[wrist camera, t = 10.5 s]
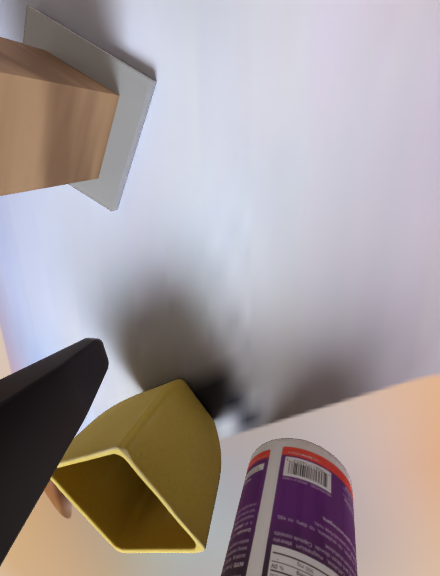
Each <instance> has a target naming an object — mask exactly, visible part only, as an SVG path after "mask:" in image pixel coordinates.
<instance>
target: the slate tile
mask: <svg viewBox="0 0 440 576" xmlns="http://www.w3.org/2000/svg"><path fill="white" fill-rule="evenodd" d="M23 44H26V45H29V46H32V47H36V48H39V49H42V50H46V51H47V52H49V53H51V54H52V55H54V56H55V57H57V58H59V59H60V60H62V61H64V62H65V63H67V64H69V65H70V66H72V67H74V68H75V69H77V70H79V71H80V72H82V73H83V74H85V75H87V76H88V77H90V78H92V79H93V80H95V81H97V82H98V83H100V84H102V85H103V86H105V87H107V88H108V89H110V90H111V91H113V92H115V93H116V94H118V95H120V96H119V100H118V104H117V108H116V112H115V116H114V119H113V123H112V127H111V131H110V135H109V139H108V143H107V147H106V151H105V155H104V158H103V162H102V166H101V170H100V174H99V178H98V179H93V180H87V181H82V182H76V183H70V184H69V185H71V186H72V187H74V188H75V189H77V190H79V191H80V192H82V193H83V194H85V195H86V196H88V197H90V198H91V199H93V200H94V201H96V202H98V203H99V204H101V205H102V206H104V207H106V208H107V209H109V210H110V211H115V210H117V209H118V205H119V202H120V199H121V196H122V192H123V189H124V186H125V183H126V179H127V176H128V173H129V169H130V166H131V163H132V160H133V156H134V153H135V150H136V147H137V143H138V140H139V137H140V134H141V130H142V127H143V124H144V121H145V117H146V114H147V111H148V108H149V104H150V101H151V98H152V95H153V91H154V88H155V85H156V81H154V80H153V79H151V78H149V77H148V76H146V75H144V74H143V73H141V72H139V71H138V70H136V69H134V68H133V67H131V66H129V65H128V64H126V63H124V62H123V61H121V60H119V59H118V58H116V57H114V56H113V55H111V54H109V53H108V52H106V51H104V50H103V49H101V48H99V47H98V46H96V45H94V44H93V43H91V42H89V41H88V40H86V39H84V38H83V37H81V36H79V35H78V34H76V33H74V32H73V31H71V30H69V29H68V28H66V27H64V26H63V25H61V24H59V23H58V22H56V21H54V20H53V19H51V18H49V17H48V16H46V15H44V14H43V13H41V12H39V11H38V10H36V9H34V8H31V7H29V6H27V11H26V21H25V31H24V41H23Z"/></svg>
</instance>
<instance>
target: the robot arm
mask: <svg viewBox="0 0 440 576" xmlns="http://www.w3.org/2000/svg"><path fill="white" fill-rule="evenodd" d="M108 365H109V361H108V358H107V354H106V351H105V348H104V345H103V342H102V341H101V340H100V339H96V338H85V339H83V340H81V341H79V342H77V343H75V344H73V345H71V346H69V347H67V348H64V349H62V350H60V351H58V352H56V353H54V354H52V355H50V356H48V357H46V358H44V359H42V360H40V361H38V362H36V363H34V364H32V365H29V366H27V367H25V368H23V369H21V370H19V371H17V372H15V373H13V374H11V375H9V376H7V377H5V378H3V379H1V380H0V566H1V564H2V562H3V561H4V559H5V557H6V555H7V554H8V552H9V550H10V548H11V547H12V545H13V543H14V541H15V540H16V538H17V536H18V534H19V533H20V531H21V529H22V527H23V526H24V524H25V522H26V520H27V519H28V517H29V515H30V513H31V512H32V510H33V508H34V507H35V505H36V503H37V501H38V500H39V498H40V496H41V494H42V493H43V491H44V489H45V487H46V486H47V484H48V482H49V480H50V479H51V477H52V475H53V473H54V472H55V470H56V468H57V466H58V465H59V463H60V461H61V460H62V458H63V456H64V454H65V453H66V451H67V449H68V447H69V446H70V444H71V442H72V440H73V439H74V437H75V435H76V433H77V432H78V430H79V428H80V426H81V425H82V423H83V421H84V419H85V417H86V415H87V413H88V411H89V409H90V407H91V405H92V403H93V400H94V398H95V396H96V394H97V392H98V389H99V387H100V385H101V383H102V380H103V378H104V376H105V374H106V372H107V369H108Z"/></svg>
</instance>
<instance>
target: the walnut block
mask: <svg viewBox="0 0 440 576" xmlns="http://www.w3.org/2000/svg"><path fill="white" fill-rule="evenodd" d="M119 96H120V95H118V94H116V93H115V92H113V91H111V90H110V89H108V88H107V87H105V86H103V85H102V84H100V83H98V82H97V81H95V80H93V79H92V78H90V77H88V76H87V75H85V74H83V73H82V72H80V71H79V70H77V69H75V68H74V67H72V66H70V65H69V64H67V63H65V62H64V61H62V60H60V59H59V58H57V57H55V56H54V55H52V54H51V53H49V52H47V51H46V50H42V49H39V48H36V47H32V46H29V45H26V44H22V43H19V42H16V41H12V40H9V39H6V38H2V37H0V196H2V195H8V194H14V193H19V192H25V191H31V190H36V189H42V188H48V187H53V186H59V185H65V184H70V183H76V182H82V181H87V180H93V179H98V178H99V174H100V170H101V166H102V162H103V158H104V155H105V151H106V147H107V143H108V139H109V135H110V131H111V127H112V123H113V119H114V116H115V112H116V108H117V104H118V100H119Z"/></svg>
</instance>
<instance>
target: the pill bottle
mask: <svg viewBox="0 0 440 576" xmlns="http://www.w3.org/2000/svg"><path fill="white" fill-rule="evenodd" d="M221 576H357V563H356V544H355V527H354V510H353V494H352V484H351V480H350V477H349V475H348V473H347V471H346V469H345V468H344V467H343V465H342V464H341V463H340V462H339V461H338V460H337V458H335V457H334V456H333V455H332V454H331V453H329V452H328V451H326V450H325V449H323V448H322V447H320V446H318V445H316V444H313V443H311V442H308V441H305V440H301V439H293V438H282V439H275V440H271V441H269V442H266V443H264V444H263V445H261V446H260V447H259V448H257V449H256V451H255V452H254V453H253V455H252V457H251V460H250V463H249V466H248V469H247V474H246V478H245V483H244V486H243V490H242V494H241V498H240V502H239V506H238V510H237V514H236V518H235V522H234V527H233V530H232V534H231V538H230V542H229V546H228V550H227V554H226V558H225V562H224V566H223V570H222V573H221Z"/></svg>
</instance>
